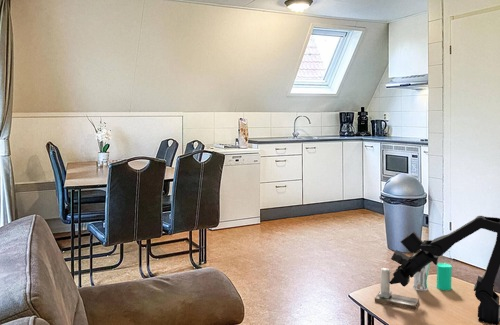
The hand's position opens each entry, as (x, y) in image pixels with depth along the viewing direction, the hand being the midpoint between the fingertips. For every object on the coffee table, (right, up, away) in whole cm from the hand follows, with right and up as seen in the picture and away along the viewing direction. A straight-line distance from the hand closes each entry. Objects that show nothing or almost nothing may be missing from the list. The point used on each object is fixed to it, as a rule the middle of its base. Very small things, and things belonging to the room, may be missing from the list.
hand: (390, 283), depth 177 cm
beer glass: (+17, -6, +12) cm, 22 cm away
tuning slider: (-2, -6, +2) cm, 6 cm away
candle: (+28, -6, +13) cm, 31 cm away
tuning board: (+2, -8, -1) cm, 8 cm away
